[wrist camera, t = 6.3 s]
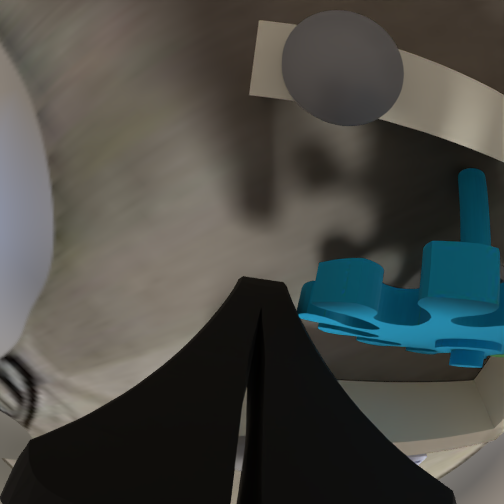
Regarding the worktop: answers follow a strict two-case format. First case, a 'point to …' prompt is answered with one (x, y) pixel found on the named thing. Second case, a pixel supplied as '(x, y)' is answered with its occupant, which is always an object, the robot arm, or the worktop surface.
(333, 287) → the gear
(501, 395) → the gear housing
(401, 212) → the worktop surface
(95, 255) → the worktop surface
